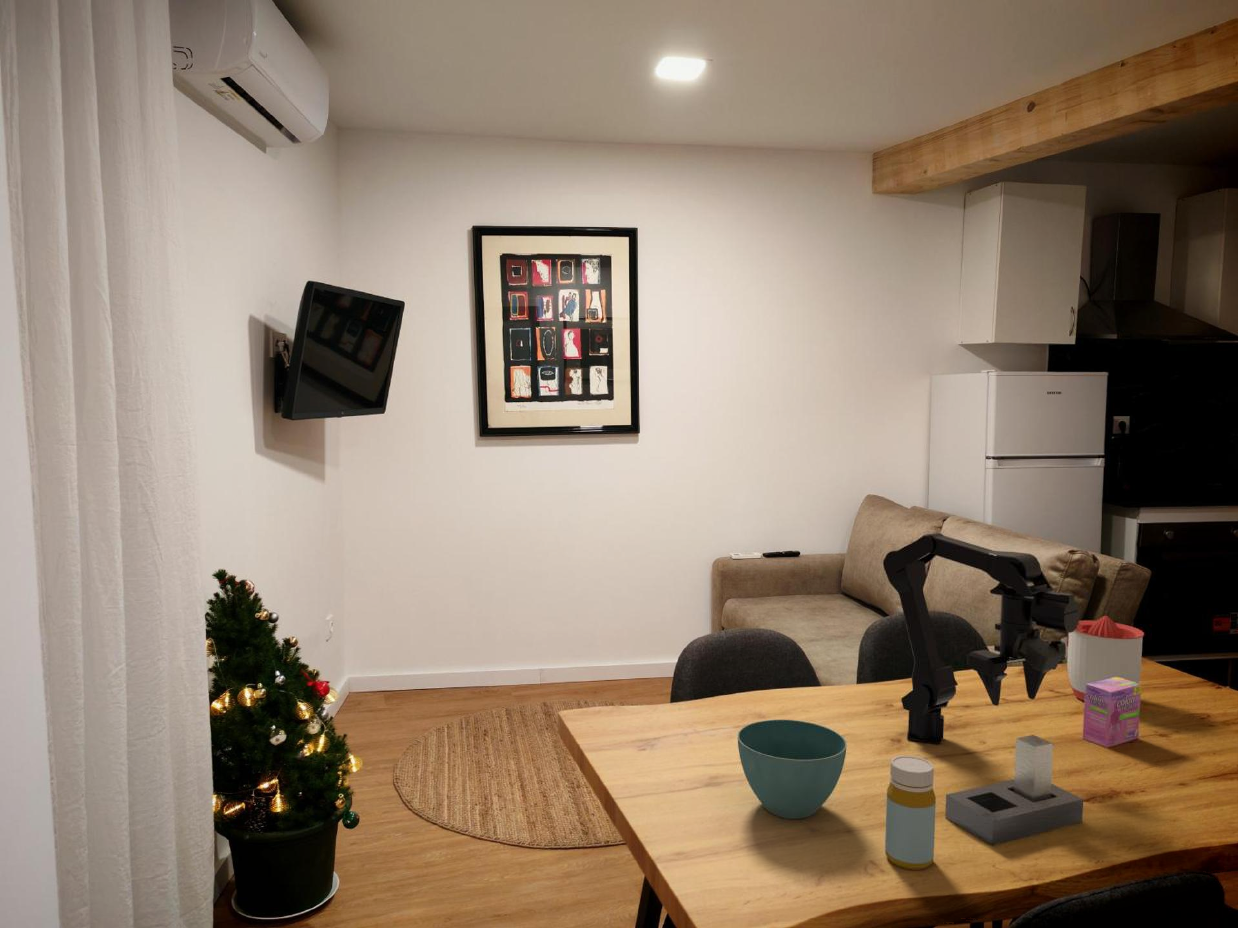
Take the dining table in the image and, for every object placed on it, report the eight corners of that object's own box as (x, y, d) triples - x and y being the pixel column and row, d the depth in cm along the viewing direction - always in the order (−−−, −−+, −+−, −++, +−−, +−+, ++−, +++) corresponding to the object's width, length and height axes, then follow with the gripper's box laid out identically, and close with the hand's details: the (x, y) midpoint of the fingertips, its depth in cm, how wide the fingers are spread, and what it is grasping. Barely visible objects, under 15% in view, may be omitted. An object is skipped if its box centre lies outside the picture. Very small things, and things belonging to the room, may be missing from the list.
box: (1108, 748, 176) (1110, 691, 175) (1081, 738, 181) (1084, 683, 180) (1139, 739, 181) (1142, 683, 180) (1113, 730, 186) (1115, 675, 185)
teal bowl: (731, 782, 159) (732, 717, 158) (832, 784, 158) (833, 719, 157) (742, 832, 141) (743, 758, 140) (856, 835, 140) (858, 761, 139)
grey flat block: (992, 845, 137) (993, 821, 137) (945, 817, 146) (946, 794, 146) (1082, 821, 145) (1083, 798, 145) (1032, 796, 154) (1033, 774, 154)
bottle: (877, 848, 136) (880, 755, 135) (921, 846, 137) (924, 753, 135) (895, 872, 129) (899, 774, 128) (941, 870, 130) (944, 772, 129)
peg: (1032, 822, 145) (1035, 746, 144) (1012, 812, 148) (1016, 738, 147) (1049, 818, 146) (1053, 743, 145) (1029, 808, 150) (1033, 734, 149)
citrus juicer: (1071, 682, 217) (1075, 603, 216) (1149, 700, 204) (1154, 616, 203) (1046, 696, 207) (1049, 613, 205) (1127, 716, 194) (1131, 628, 192)
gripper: (1015, 636, 153) (1011, 723, 154) (1090, 626, 160) (1086, 709, 161) (966, 621, 163) (963, 703, 164) (1039, 612, 170) (1035, 690, 171)
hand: (1013, 701), depth 165 cm, fingers open, 9 cm apart
